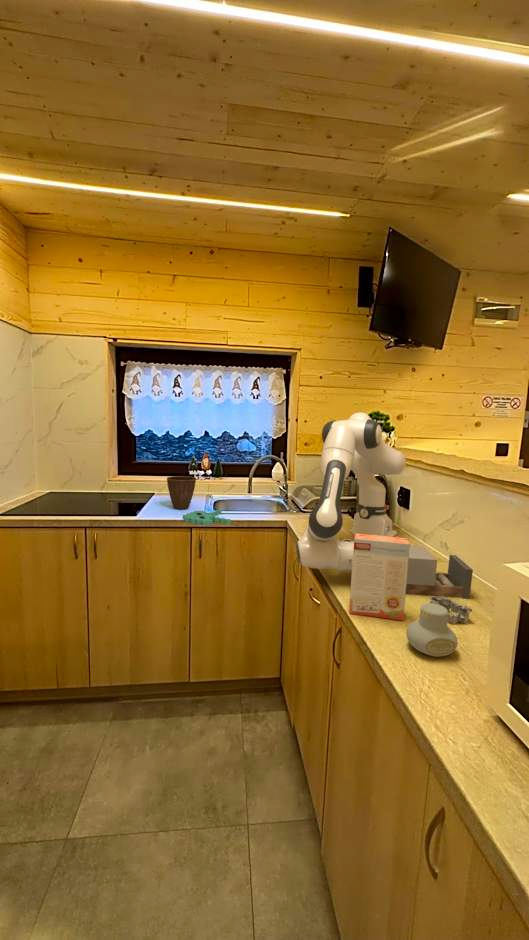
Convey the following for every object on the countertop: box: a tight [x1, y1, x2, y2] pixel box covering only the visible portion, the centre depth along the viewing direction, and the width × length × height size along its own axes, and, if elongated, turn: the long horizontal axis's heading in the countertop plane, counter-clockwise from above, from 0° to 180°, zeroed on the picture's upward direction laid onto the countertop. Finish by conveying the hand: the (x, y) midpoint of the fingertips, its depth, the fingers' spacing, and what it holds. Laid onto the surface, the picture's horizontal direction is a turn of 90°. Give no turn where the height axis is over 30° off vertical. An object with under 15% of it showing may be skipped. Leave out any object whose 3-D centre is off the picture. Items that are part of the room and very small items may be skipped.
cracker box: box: [348, 533, 411, 621], centre depth 113 cm, size 14×6×21 cm, turn 77°
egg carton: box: [427, 595, 473, 625], centre depth 116 cm, size 11×8×4 cm
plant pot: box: [166, 475, 197, 511], centre depth 222 cm, size 15×15×16 cm
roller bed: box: [405, 554, 474, 600], centre depth 133 cm, size 22×13×9 cm, turn 87°
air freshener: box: [405, 602, 458, 658], centre depth 97 cm, size 11×8×10 cm
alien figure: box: [182, 509, 232, 526], centre depth 204 cm, size 20×2×20 cm
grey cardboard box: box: [406, 544, 438, 586], centre depth 133 cm, size 10×13×8 cm
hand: (392, 559), depth 133 cm, fingers closed
